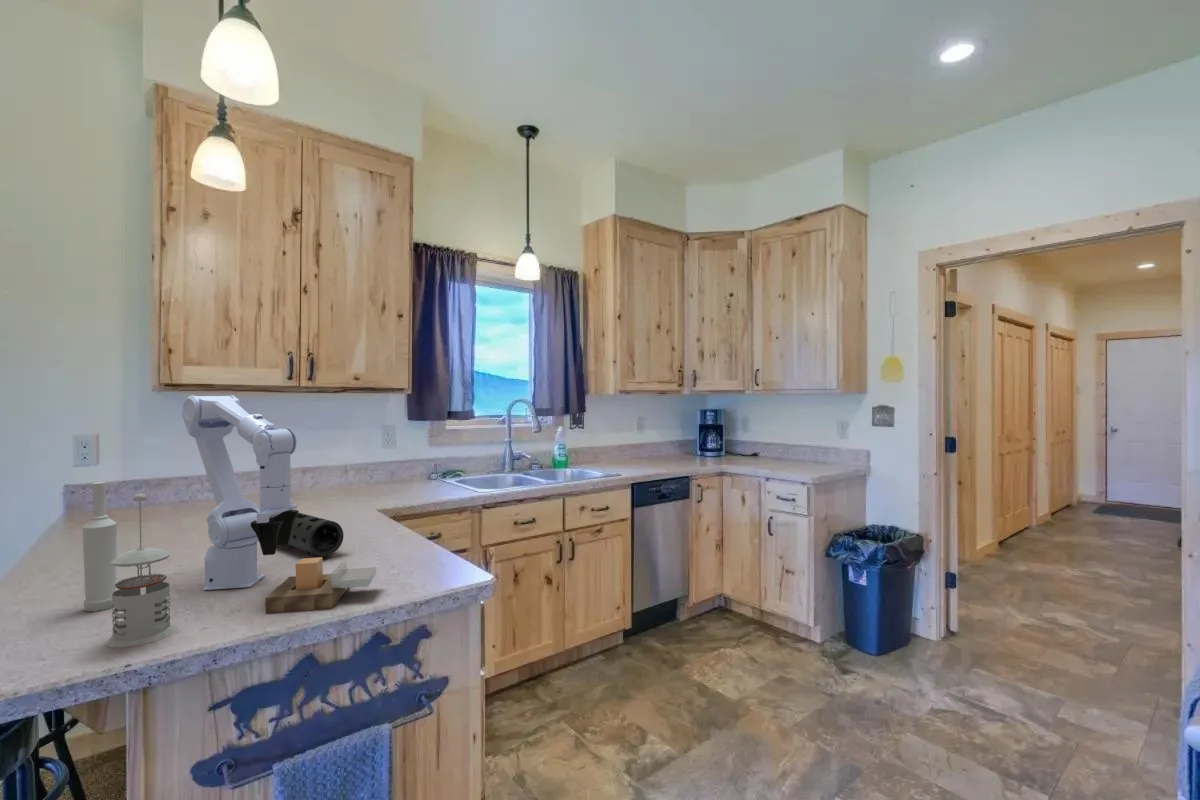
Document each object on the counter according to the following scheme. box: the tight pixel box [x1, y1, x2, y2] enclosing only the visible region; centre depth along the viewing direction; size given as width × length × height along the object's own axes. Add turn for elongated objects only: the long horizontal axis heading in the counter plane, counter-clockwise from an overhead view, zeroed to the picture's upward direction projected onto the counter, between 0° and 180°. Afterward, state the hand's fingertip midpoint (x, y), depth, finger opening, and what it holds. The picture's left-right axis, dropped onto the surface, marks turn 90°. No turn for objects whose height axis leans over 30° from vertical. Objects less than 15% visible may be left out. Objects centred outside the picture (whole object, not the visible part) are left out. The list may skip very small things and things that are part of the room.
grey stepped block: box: [330, 561, 377, 589], centre depth 118 cm, size 7×8×3 cm
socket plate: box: [264, 573, 347, 614], centre depth 116 cm, size 12×13×3 cm
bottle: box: [81, 481, 118, 612], centre depth 113 cm, size 5×5×25 cm
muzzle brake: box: [285, 512, 345, 560], centre depth 153 cm, size 10×28×10 cm, turn 53°
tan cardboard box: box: [295, 557, 324, 590], centre depth 116 cm, size 4×4×8 cm
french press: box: [105, 493, 178, 648], centre depth 100 cm, size 10×12×25 cm
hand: (276, 549), depth 120 cm, fingers open, 7 cm apart
